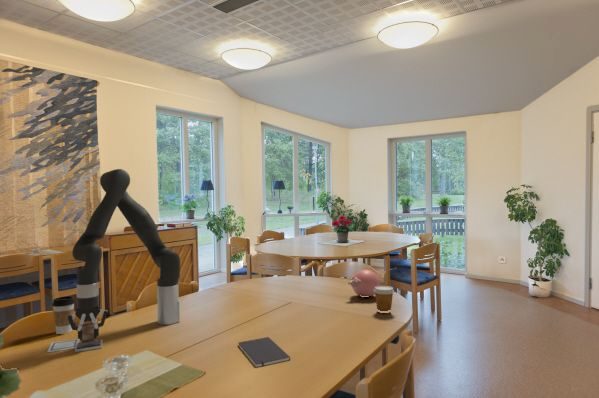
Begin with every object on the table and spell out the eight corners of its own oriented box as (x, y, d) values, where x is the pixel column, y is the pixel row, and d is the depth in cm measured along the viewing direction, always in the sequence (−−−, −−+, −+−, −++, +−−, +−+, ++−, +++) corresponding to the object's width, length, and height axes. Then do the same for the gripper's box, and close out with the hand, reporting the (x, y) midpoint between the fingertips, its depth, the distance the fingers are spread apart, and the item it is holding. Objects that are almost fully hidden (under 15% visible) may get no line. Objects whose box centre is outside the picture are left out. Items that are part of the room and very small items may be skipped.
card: (80, 339, 157) (80, 338, 157) (77, 348, 148) (77, 347, 148) (51, 343, 152) (51, 342, 152) (46, 352, 143) (46, 351, 143)
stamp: (95, 337, 151) (95, 321, 151) (94, 341, 147) (94, 324, 147) (82, 339, 149) (82, 322, 149) (81, 343, 145) (81, 326, 145)
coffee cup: (49, 336, 159) (48, 301, 159) (56, 329, 168) (55, 295, 167) (72, 334, 162) (71, 299, 161) (78, 327, 170) (77, 294, 170)
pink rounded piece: (339, 297, 215) (339, 269, 215) (367, 292, 225) (367, 266, 224) (356, 303, 202) (356, 274, 201) (385, 298, 211) (385, 270, 211)
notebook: (290, 361, 135) (268, 340, 154) (290, 356, 135) (268, 336, 154) (256, 368, 130) (237, 346, 149) (256, 364, 130) (237, 342, 149)
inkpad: (102, 342, 153) (102, 338, 153) (101, 348, 147) (101, 344, 147) (76, 346, 149) (76, 342, 149) (74, 352, 144) (74, 348, 144)
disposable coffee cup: (392, 309, 192) (392, 285, 191) (395, 315, 182) (395, 290, 182) (373, 309, 193) (373, 285, 192) (375, 315, 183) (374, 290, 183)
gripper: (108, 290, 154) (109, 332, 155) (67, 294, 148) (68, 338, 149) (108, 294, 148) (108, 339, 148) (64, 299, 142) (65, 345, 142)
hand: (88, 338), depth 148 cm, fingers closed on stamp, 4 cm apart
